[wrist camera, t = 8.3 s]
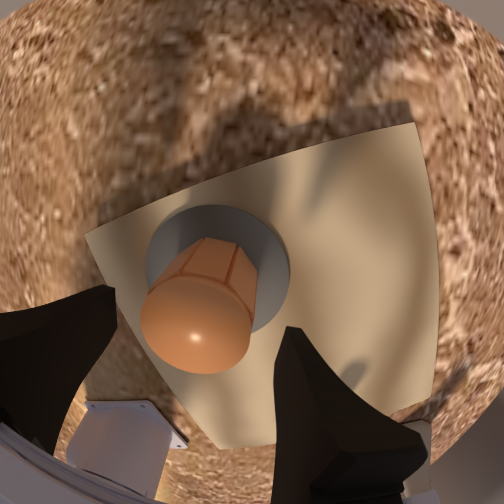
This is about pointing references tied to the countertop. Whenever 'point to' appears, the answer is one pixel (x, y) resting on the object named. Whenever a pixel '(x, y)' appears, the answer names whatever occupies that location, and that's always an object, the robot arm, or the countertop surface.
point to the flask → (422, 476)
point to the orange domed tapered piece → (202, 308)
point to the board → (301, 273)
